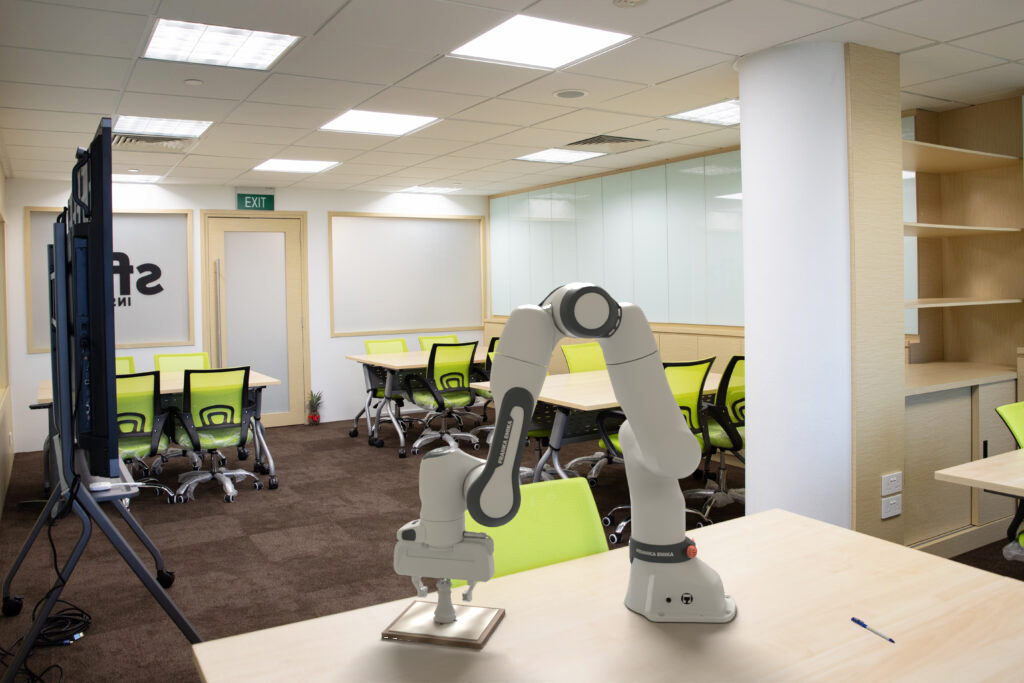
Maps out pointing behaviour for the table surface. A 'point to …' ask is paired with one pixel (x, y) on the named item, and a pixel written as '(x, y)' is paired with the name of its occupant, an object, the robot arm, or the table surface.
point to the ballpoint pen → (871, 629)
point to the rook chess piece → (444, 602)
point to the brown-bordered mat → (445, 625)
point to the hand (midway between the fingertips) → (444, 598)
